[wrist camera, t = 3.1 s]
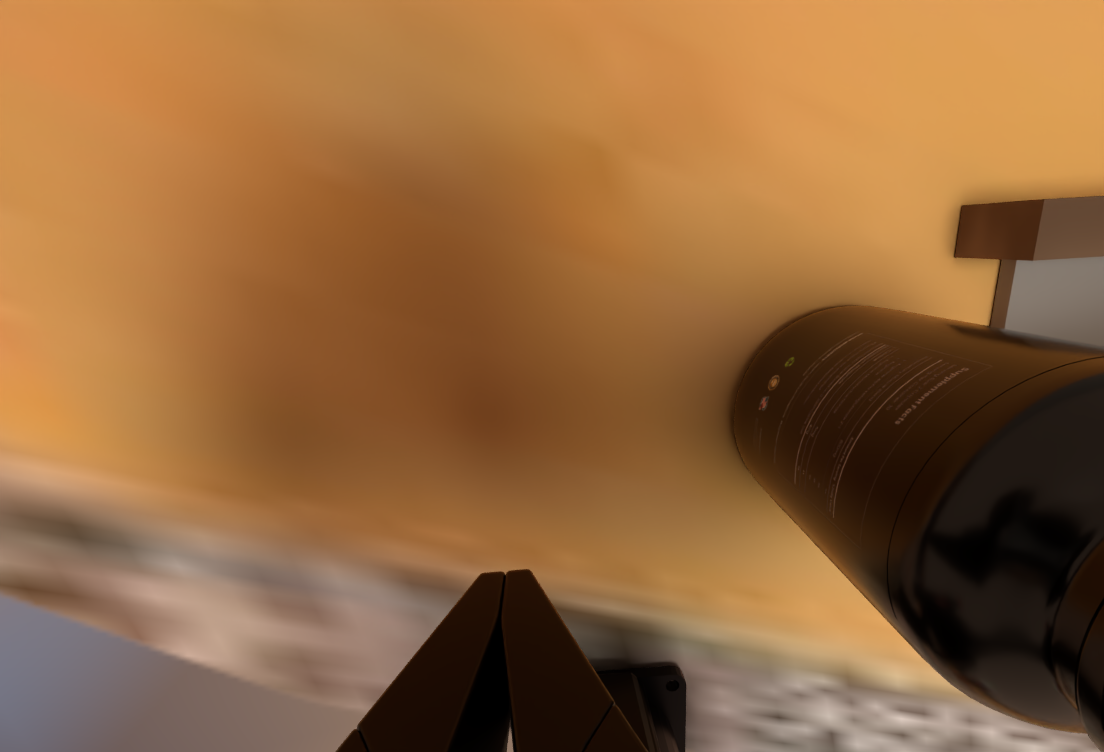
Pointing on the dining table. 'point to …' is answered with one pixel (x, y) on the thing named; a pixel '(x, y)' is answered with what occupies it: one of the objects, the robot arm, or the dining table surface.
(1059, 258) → the cradle
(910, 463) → the supplement bottle
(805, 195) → the dining table surface
